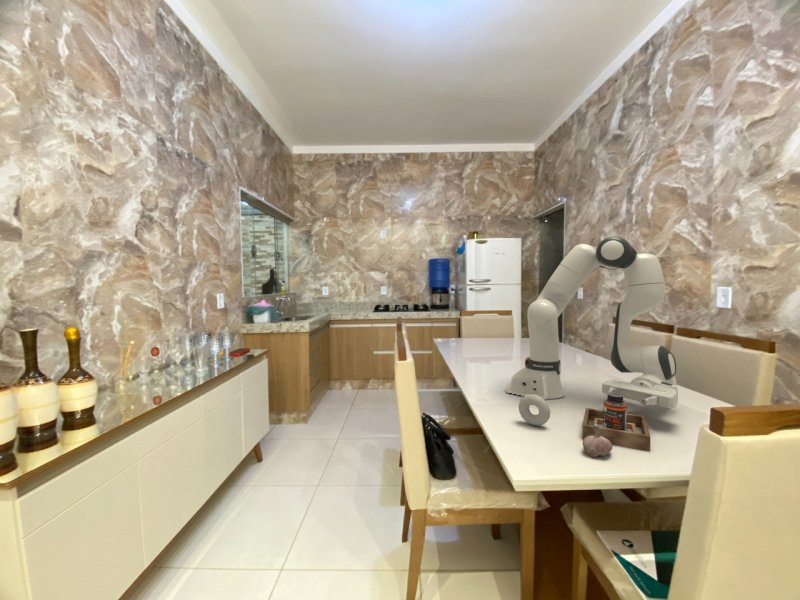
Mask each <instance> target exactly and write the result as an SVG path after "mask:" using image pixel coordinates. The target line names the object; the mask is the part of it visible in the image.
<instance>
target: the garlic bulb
mask: <svg viewBox="0 0 800 600" xmlns="http://www.w3.org/2000/svg"><path fill="white" fill-rule="evenodd" d="M594 428H595V436H588V437H586V438H585V439H582V447H583V448H582V449H583V450H584V451H585V453H587V454H589V456H591V457H592V458H597V457H599V456H602V457H603V456H607V455H609V454H610V452H612V451H613V444H611V442H610V441H609V440H608V439H606V438H604V437H602V436H600V433H599V427H598V425H597V424H594Z"/></svg>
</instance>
